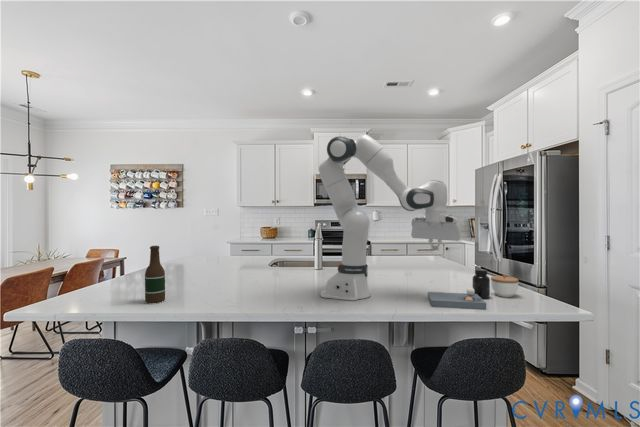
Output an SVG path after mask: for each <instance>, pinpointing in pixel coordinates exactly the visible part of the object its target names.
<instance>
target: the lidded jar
mask: <svg viewBox="0 0 640 427" xmlns="http://www.w3.org/2000/svg"><path fill="white" fill-rule="evenodd" d="M519 282H520V281H519V279H518V278H517V277H513V276H508V275H506V274H504V273H503V274H502V275H493V276H491V277H490V283H491V284H490V285H491V288H492V290H493V292H494V293H495V294H496V296H498V297H503V298H512V297H513V296H514V295H515V294H516V293H517V292H518V289H519Z"/></svg>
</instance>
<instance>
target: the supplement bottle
mask: <svg viewBox="0 0 640 427" xmlns="http://www.w3.org/2000/svg"><path fill="white" fill-rule="evenodd" d="M474 274H475V275H473V276H472V288H473V289H474V290H475V293H474V294H477V295H478V296H479V297H480V298H482V299H483V300H485V299H486V300H487V299H490V297H491V289H490V287H491V284H490V283H491V278H490V277H489V276H488V269H483V268H481V269H480V268H476V269H475V270H474Z"/></svg>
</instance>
